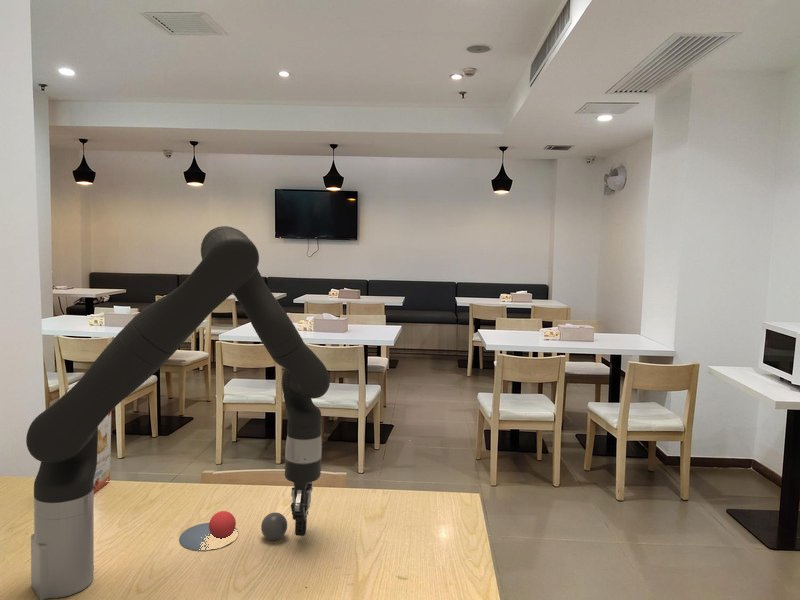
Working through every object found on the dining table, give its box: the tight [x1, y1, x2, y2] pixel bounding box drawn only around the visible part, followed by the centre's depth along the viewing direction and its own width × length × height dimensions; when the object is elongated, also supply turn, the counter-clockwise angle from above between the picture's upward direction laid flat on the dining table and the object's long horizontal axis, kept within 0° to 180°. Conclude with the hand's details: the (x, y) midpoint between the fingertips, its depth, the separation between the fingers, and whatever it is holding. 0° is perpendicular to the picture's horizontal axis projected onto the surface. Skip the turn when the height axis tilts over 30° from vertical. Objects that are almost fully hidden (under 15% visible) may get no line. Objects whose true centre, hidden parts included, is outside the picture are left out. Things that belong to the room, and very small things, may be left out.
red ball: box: [208, 510, 237, 539], centre depth 124 cm, size 6×6×6 cm
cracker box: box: [94, 410, 112, 494], centre depth 142 cm, size 14×6×21 cm, turn 179°
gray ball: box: [260, 511, 288, 541], centre depth 125 cm, size 6×6×6 cm
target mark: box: [178, 522, 239, 551], centre depth 125 cm, size 12×12×1 cm
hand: (300, 533), depth 125 cm, fingers closed
